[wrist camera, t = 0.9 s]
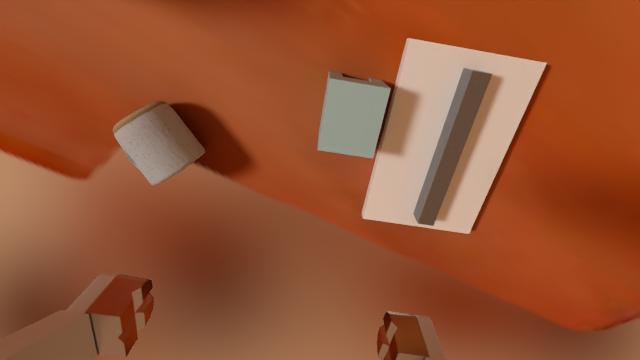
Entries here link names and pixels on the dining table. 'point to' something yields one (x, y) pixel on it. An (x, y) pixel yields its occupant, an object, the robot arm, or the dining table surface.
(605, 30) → the dining table surface
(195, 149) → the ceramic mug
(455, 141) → the metal rail
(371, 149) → the channel block
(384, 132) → the mounting board
